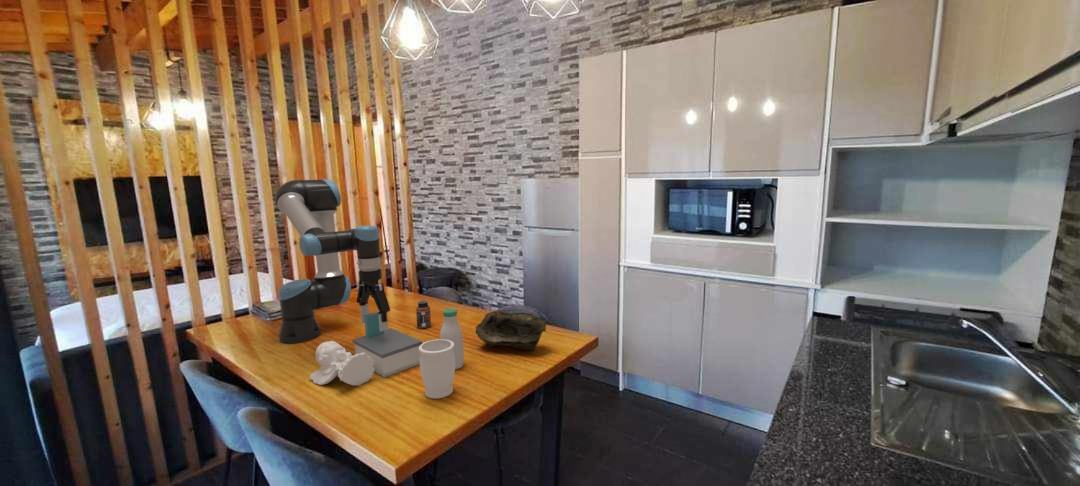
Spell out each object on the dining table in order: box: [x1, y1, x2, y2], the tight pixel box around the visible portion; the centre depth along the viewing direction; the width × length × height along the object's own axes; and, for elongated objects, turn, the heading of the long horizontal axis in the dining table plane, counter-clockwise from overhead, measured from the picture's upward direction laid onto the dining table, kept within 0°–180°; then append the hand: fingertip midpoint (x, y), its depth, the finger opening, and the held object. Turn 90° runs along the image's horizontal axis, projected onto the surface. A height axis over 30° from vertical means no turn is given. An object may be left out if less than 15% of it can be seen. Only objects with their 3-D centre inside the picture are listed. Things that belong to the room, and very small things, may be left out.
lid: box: [352, 311, 423, 358], centre depth 150 cm, size 21×15×10 cm
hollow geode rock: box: [475, 311, 547, 351], centre depth 164 cm, size 28×13×15 cm
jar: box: [419, 338, 456, 400], centre depth 129 cm, size 11×10×15 cm
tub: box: [354, 344, 421, 378], centre depth 151 cm, size 20×14×7 cm
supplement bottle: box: [415, 300, 432, 330], centre depth 187 cm, size 6×6×11 cm
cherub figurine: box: [309, 340, 375, 386], centre depth 139 cm, size 13×12×20 cm
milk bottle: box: [439, 308, 465, 370], centre depth 147 cm, size 8×8×20 cm
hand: (374, 326), depth 156 cm, fingers open, 13 cm apart
